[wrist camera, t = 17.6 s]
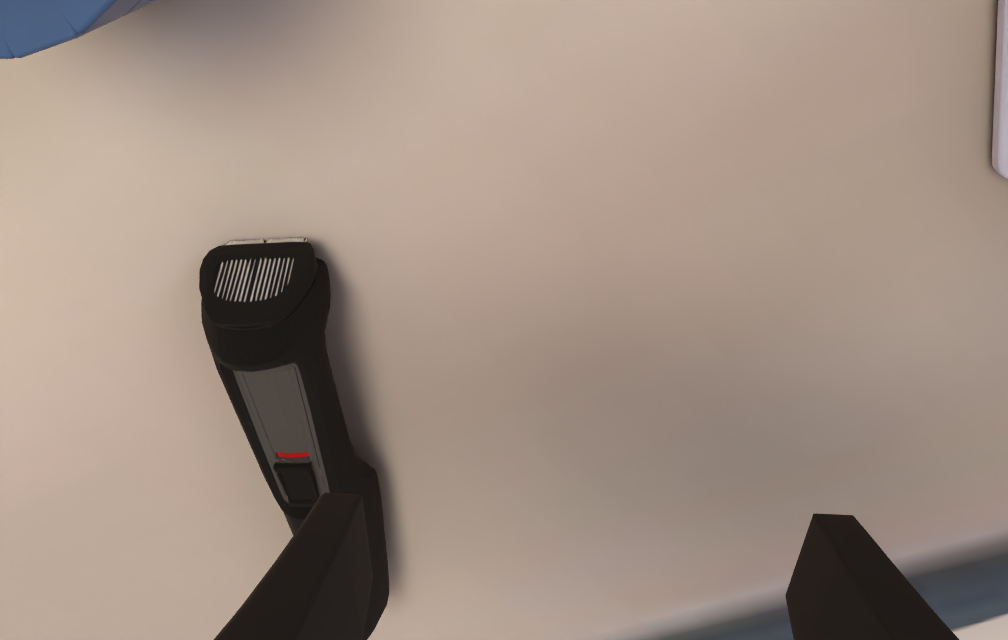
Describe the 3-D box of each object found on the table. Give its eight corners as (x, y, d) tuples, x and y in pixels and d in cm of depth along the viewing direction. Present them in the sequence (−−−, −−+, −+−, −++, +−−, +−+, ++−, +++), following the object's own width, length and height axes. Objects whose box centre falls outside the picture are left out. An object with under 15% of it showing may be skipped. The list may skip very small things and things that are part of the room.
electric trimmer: (321, 577, 30) (299, 651, 28) (202, 241, 22) (153, 302, 19) (413, 578, 30) (399, 652, 27) (330, 235, 21) (298, 297, 19)
